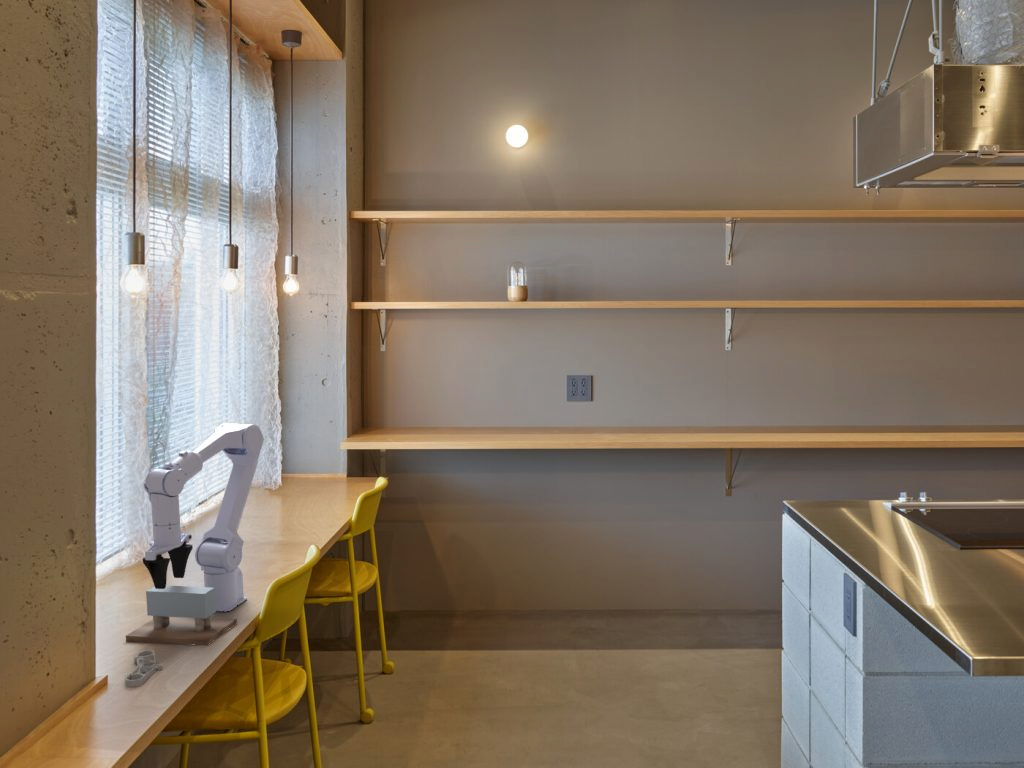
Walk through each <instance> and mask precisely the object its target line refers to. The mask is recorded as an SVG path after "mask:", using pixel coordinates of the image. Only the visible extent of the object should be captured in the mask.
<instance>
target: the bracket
mask: <svg viewBox="0 0 1024 768" xmlns="http://www.w3.org/2000/svg"><path fill="white" fill-rule="evenodd" d="M133 663H134V664H136V665H137V666H136V667H135V669H134V670H132V671H131V673H129V674H126V675H125V676H124V684H125V686H126V687H128V688H134V687H139V686H141V685H144V684H145V682H147V680H148V678H150V677H151V676H152V675H153V674H154V673H155V672H157V671H162V669H163V667H164V666H163V664H164V663H163V662H161V663H157V661H156V652H155V650H152V649H146V650H142V651H139V652H138V653H136V655H134V657H133Z"/></svg>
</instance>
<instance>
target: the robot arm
mask: <svg viewBox="0 0 1024 768" xmlns="http://www.w3.org/2000/svg"><path fill="white" fill-rule="evenodd" d="M264 440H265V438H264V435H263V433H262V430H261V428H260V427H259V426H258V425H257V424H255V423H252V424H245V423H229V422H222V423H221V424H220V425H219V426H217V427H216V428H214V431H213V433H212V435H210V436H209V437H208V438H207V439H205V440H204V441H203V442H202V443H201V444H200V445H199V446H197V447H196V448H195V449H194V450H190V449H189V450H181V451H179V452H178V455H177V456H176V457H175V458H173V459H172V460H171V461H170V462H169V461H167V462H166V463H164V466H162V467H161V468H155V469H152V470H151V471H150V472H149V473H148V474H147V475H146V477H145V481H144V483H143V488H144V491H145V492H146V493H147V495H148V500H149V502H150V506H151V507H150V508H151V523H152V535H153V536H152V538H153V540H152V541H150V542H149V543H148V545H149V548H148V549H147V550H146V551H144V555H145V556H144V557H143V558H142V563H143V565H144V566H145V567H146V569H147V570H148V573H149V575H150V577H151V580H152V583H153V587H154V586H155V588H156V589H165V588H166V585H167V575H168V574H167V573H168V567H169V564H170V563H171V564H170V565H171V568H172V569H171V570H172V574H173V575H172V576H173V578H174V579H184V578H185V573H186V569H187V563H188V559H189V557H190V554H191V553H192V550H193V544H188V543H190V534H189V533H182V532H181V531H182V529H181V528H182V527H181V515H180V514H181V512H180V497H179V495H180V494H181V493H182V491H183V490H184V487H185V485H186V484H187V482H188V481H189V480H190V479H192V478H193V477H195V476H196V475H197V474H198V473H200V472H201V471H202V470H203V466H204V463H205V462H207V461H208V460H210V459H211V458H213V457H214V456H215V455H218V454H220V453H221V452H223V453H224V455H225V456H226V457H227V458H228V459H229V460H230V461H231V463H232V464H233V465H232V468H231V471H230V475H229V478H228V481H227V484H226V488H225V491H224V493H223V497H222V499H221V503H220V507H219V510H218V512H217V516H216V520H215V523H214V526H213V527H211V528H210V529H209V530H207V531H206V532H205V533H204V534H203V536H202V539H201V540H200V543H199V544H198V545H197V546H196V549H195V553H194V558H195V562H196V564H197V565H198V566H200V570H201V571H202V572H203V582H204V584H203V585H204V586H203V587H211V588H215V604H216V612H223V611H224V612H227V611H229V612H231V611H232V610H234V609H235V608H237V607H238V606H239V605H241V604H243V603H244V602H245V601H247V599H248V596H244V595H245V594H244V583H243V582H244V578H243V575H244V574H243V571H242V569H241V568H240V564H241V562H242V559H243V546H244V544H245V543H244V540H243V539H242V537H241V536H240V534H239V533H238V530H239V526H240V523H241V521H242V517H243V513H244V510H245V507H246V504H247V503H246V502H247V500H248V497H249V493H250V490H251V487H252V484H253V480H254V477H255V474H256V470H257V467H258V462H259V458H260V454H261V450H262V446H263V444H264ZM166 553H168V556H169V557H165V558H164V556H163V555H164V554H166ZM237 605H238V606H237Z"/></svg>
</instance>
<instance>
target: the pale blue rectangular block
mask: <svg viewBox="0 0 1024 768" xmlns="http://www.w3.org/2000/svg"><path fill="white" fill-rule="evenodd" d="M145 595H146V599H145V600H146V611H147V612H146V613H147V614H146V615H147V617H148V616H149V617H153V616H166V617H185V618H204V619H206V618H208V617H209V616H210V617H212V615H214V614H215V613H216V612H217V611H216V604H215V588H211V587H204V586H188V585H187V586H184V585H167V584H166V588H165V589H156V588H155V586H154V585H153V586H152V587H151V588H149V589H147V590H145Z"/></svg>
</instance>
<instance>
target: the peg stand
mask: <svg viewBox="0 0 1024 768" xmlns="http://www.w3.org/2000/svg"><path fill="white" fill-rule="evenodd" d="M236 623H238V620H237V618H233V617H232V618H229V617H212V616H209V617H208V618H206V619H204V618H185V617H166V616H152V619H150V620H149V621H147V622H146V623H144V624H143V625H141V626H139V627H138V628H136V629H135V630H132V631H131V632H129V633H128V634H126V635H125V641H126V642H133V643H134V642H137V643H150V644H151V643H152V644H168V645H169V644H170V645H171V644H172V645H183V644H195V645H194V646H200V645H207V646H209V645H210V644H212V643H213V642H214V641H216V640H217V639H219V638H220V637H221V636H222V635H224V634H225V633H227V632H228V631H229V630H230V629H229V628H231V627H232V626H233V625H235V624H236ZM236 625H237V624H236ZM236 625H235V626H236ZM233 627H234V626H233ZM233 627H232V628H233ZM232 628H231V629H232ZM228 629H229V630H228ZM227 630H228V631H227ZM223 633H224V634H223ZM220 635H221V636H220ZM219 636H220V637H219ZM216 638H217V639H216ZM215 639H216V640H215ZM213 640H214V641H213ZM212 641H213V642H212ZM209 643H210V644H209ZM208 644H209V645H208Z"/></svg>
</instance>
